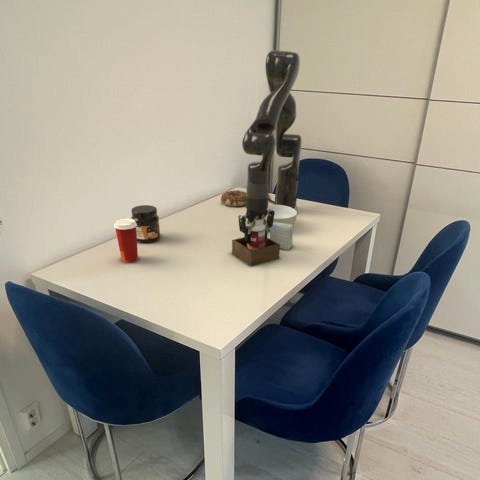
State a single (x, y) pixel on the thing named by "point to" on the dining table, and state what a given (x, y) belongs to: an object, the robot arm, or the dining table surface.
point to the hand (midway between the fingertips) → (255, 240)
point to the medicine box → (282, 234)
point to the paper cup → (127, 239)
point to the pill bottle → (257, 236)
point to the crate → (255, 251)
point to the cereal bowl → (283, 214)
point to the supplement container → (146, 223)
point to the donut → (234, 198)
